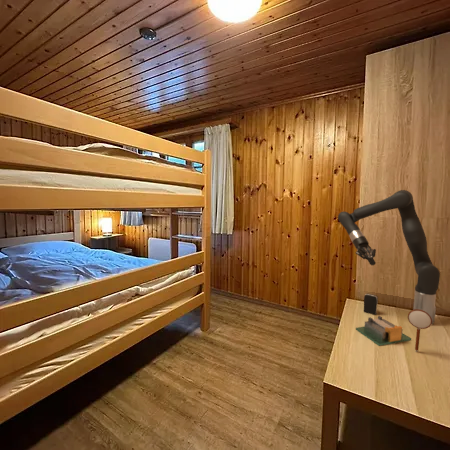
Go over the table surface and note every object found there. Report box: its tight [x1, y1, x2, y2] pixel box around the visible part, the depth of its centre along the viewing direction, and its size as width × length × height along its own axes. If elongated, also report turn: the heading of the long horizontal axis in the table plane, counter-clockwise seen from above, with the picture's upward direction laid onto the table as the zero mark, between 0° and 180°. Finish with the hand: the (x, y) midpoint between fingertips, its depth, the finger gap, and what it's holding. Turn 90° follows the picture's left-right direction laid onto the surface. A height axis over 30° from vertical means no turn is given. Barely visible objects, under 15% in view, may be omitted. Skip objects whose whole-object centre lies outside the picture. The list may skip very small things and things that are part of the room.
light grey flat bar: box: [372, 317, 392, 329], centre depth 128 cm, size 4×11×1 cm, turn 14°
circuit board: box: [355, 315, 412, 347], centre depth 128 cm, size 19×15×8 cm
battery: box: [363, 293, 379, 316], centre depth 152 cm, size 7×4×11 cm, turn 47°
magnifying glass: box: [407, 309, 433, 352], centre depth 114 cm, size 9×2×20 cm, turn 49°
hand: (373, 264), depth 141 cm, fingers closed
